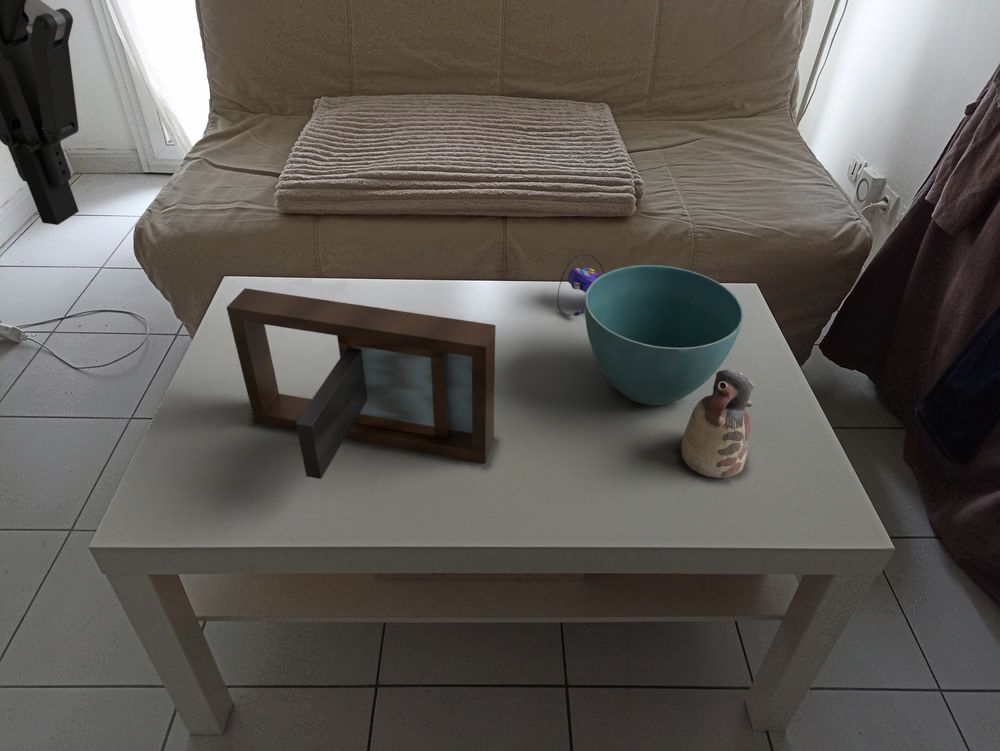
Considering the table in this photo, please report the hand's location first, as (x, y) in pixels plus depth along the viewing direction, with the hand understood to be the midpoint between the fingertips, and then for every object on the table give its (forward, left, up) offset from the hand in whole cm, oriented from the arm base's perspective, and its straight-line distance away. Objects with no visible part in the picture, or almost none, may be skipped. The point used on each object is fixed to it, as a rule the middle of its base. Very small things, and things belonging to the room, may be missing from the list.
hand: (60, 216), depth 65 cm
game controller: (+60, -12, -30) cm, 68 cm away
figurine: (+47, -41, -30) cm, 69 cm away
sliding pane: (+17, -19, -28) cm, 38 cm away
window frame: (+21, -12, -29) cm, 38 cm away
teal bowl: (+52, -28, -30) cm, 66 cm away
